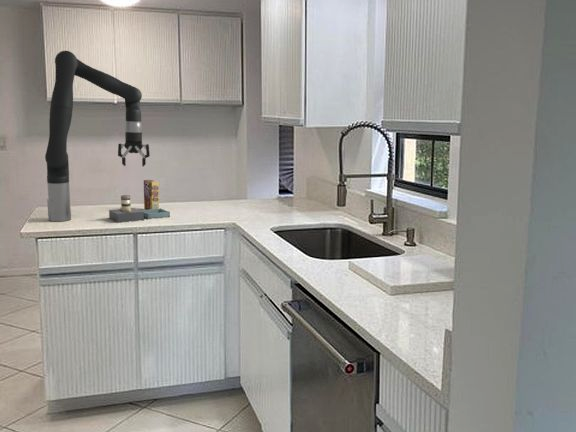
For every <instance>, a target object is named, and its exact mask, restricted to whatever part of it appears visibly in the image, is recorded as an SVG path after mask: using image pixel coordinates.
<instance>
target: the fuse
mask: <svg viewBox="0 0 576 432" xmlns="http://www.w3.org/2000/svg"><path fill="white" fill-rule="evenodd" d="M120 204H121V205H120V208H121V207H122V212H127V210H131V208H132V207H131V195H129V194H128V195H127V194H123V195H120Z"/></svg>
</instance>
